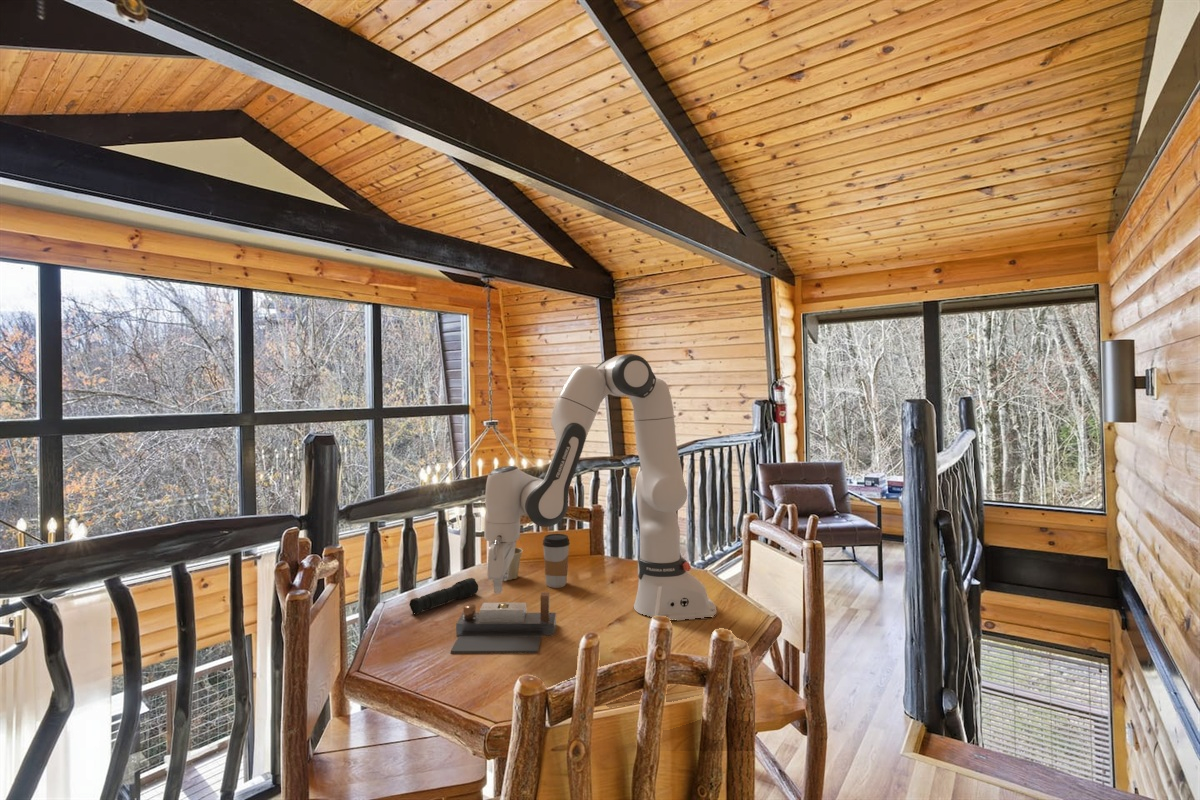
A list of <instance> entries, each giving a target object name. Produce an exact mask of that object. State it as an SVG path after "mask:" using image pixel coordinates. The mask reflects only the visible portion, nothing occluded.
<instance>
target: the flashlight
mask: <svg viewBox="0 0 1200 800" xmlns="http://www.w3.org/2000/svg"><path fill="white" fill-rule="evenodd" d="M478 591H479V584H478V583H477V581H476V579H475V578H474V577H468V578H465V579H463V580H460V581H457V582H456V583H454V584H453V585H451V586H450V587H447V588H442V589H440V590H436V591H433V592H430V593H427V594H425V595H422V596H420V597H414V598H411V599H410V601H409V608H410V610H411V611H412V615H414V613H415V615H414V616H416V615H419V614H420V613H422V612H423V611H427V610H431V609H432V608H435V607H438V606H441V605H444V603H445V604H447V603H449V602H451V601H453V600H462V599H461V598H463V599H466V598H468V596H469V597H471V595H472V596H475V594H477V593H478ZM465 597H466V598H465Z"/></svg>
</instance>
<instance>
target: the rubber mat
mask: <svg viewBox="0 0 1200 800" xmlns="http://www.w3.org/2000/svg"><path fill="white" fill-rule="evenodd" d="M541 641H542V636H457V638H456V641H454V644H453V646H452V647H451V650H450V654H538V653H539V650H540V645H541Z"/></svg>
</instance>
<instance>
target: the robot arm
mask: <svg viewBox="0 0 1200 800" xmlns="http://www.w3.org/2000/svg"><path fill="white" fill-rule="evenodd" d="M607 396H609V397H622V398H623V397H627V398H628V399H629V400H630V403H631V406H632V408H633V421H634V422H633V423H634V437H635V448H636V452H637V455H638V460H639V465H640V471H639V472H638V474H637V476H636V477H635V490H636V491H635V494H636V505H637V514H638V515H637V516H638V524H639V525H638V527H639V556H638V557H637V559H638V560H637V577H638V584H637V593H636V597H635V601H634V604H633V608H634V611H636V612H637V613H638V614H640V615H642V614H643V615H642V616H645V615H647V616H646V617H649V616H650V617H649V618H652V617H653V616H666V617H668V618H670V619H671V620H672V619H673V620H675V619H676V620H677V621H685V619H689V620H696V619H695V618H701V619H705V618H704V617H711V616H714V615H715V614H716V615H717V607H716V604H715V603H714V601H712V600H711V599H710V598H709V597H708V596H709V595H708V593H707V589H706V587H705V585H704V584H703V583H702V582H701V581H700V580H699V579H698V578H697V577H695V576H694V575H693V574H692V573H690V570H691V569H692V566H691V564H690V563H689V562H688V560H686V559H685V558H684V557H682V556H681V546H680V545H681V542H680V541H681V540H680V539H681V529H680V526H679V522H678V521H679V520H678V515H677V511H678V510H680V509H681V508H683V506H684V505H685V504H686V501H687V498H688V490H687V486H686V484H685V478H684V475H683V474H684V472H683V469H682V463H681V458H680V456H679V455H680V454H679V450H678V445H677V435H676V424H675V413H674V406H673V401H672V396H671V392H670V389H669V386H668V384H667V383H666V381H665V380H663V379H660V378H658V377H656V375H655V374H654V372H653V370H652V367H651V365H650V363H649V362H648V360H646V359H645V358H644V357H643V356H641V355H638V354H632V353H629V354H628V353H627V354H620V355H615V356H614V357H612V358H607V359H606V360H604V361H602V362H601V363H599V364H598V365H597V366H596V367H595V366H593V365H589V364H583V365H582V364H581V365H579V366H576V367H575V368H574V369H573V370H572V372H571V374H569V377H568V378H567V379H566V381H565V383H564V385H563V387H562V388H561V390H560V393H559V395H558V396H557V399H556V401H555V404H554V406H553V409H552V412H551V417H550V424H551V428H552V430H553V432H554V435H555V440H556V442H555V448H554V453H553V456H552V458H551V461H550V464H549V466H548V468H547V472H546V474H545V476H544V478H543V479H542V478H539V477H536V476H533V475H530V474H528V473H527V472H524V471H523V470H521V469H519V467H517V466H515V465H510V466H508V465H507V466H501V467H496V468H495V469H493V470H491V471H490V472H489V473H488V475H487V478H486V483H485V494H484V500H485V501H484V504H485V507H486V514H485V516H484V532H483V534H484V540H486V541H488V542H489V548H488V557H487V579H488V580H490V581H491V580H492V584H493V593H494V594H496V595H497V594H499V595H501V594H502V591H503V582H507V581H508V580H507V579H508V572H509V565H510V563H511V561H512V559H513V557H514V554H515V548H517V547H516V545H517V540H520V537H521V517H522V516H527V517H528V518H529V519H530V521H531V522H532V523H533V524H535V525H536V526H539V527H543V528H548V527H552V526H555V525H557V524H559V523H560V522H561V521H562V520H563V519H564V518H565V516H566V515H567V512H568V508H569V491H570V487H571V484H572V481H573V478H574V475H575V472H576V470H577V466H578V464H579V461H580V458H581V455H582V453H583V449H584V446H585V442H586V440H587V437H588V434H589V432H590V429H591V428H592V425H593V422H594V420H595V417H596V415H597V414H598V411H599V408H600V406H601V403H602V402H603V401H604V399H605V398H606V397H607ZM716 615H715V616H716ZM715 616H714V617H715Z"/></svg>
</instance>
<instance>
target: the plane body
mask: <svg viewBox="0 0 1200 800" xmlns="http://www.w3.org/2000/svg"><path fill="white" fill-rule="evenodd" d="M500 603H501V604H500V608H507V604H506V603H507V602H500ZM462 607H463V608H462V609H463V611H462V613H461V615H460V616H459V618H458V620H457V622H456V624H455V626H456V627H455V629H456V631H455V632H456V633H455V636H456V637H459V636H541V637H542V636H543V637H544V636H545V637H547V636H548V637H549V636H550V637H551V635H553V636H555V632H556V625H557V612H550V592H541V593H540V612H526V617H525V620H524V622H479V612H476V611H477V610H476V607H477V606H476V604H474V603H469V604H464V605H463V606H462ZM553 636H552V637H553Z"/></svg>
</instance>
